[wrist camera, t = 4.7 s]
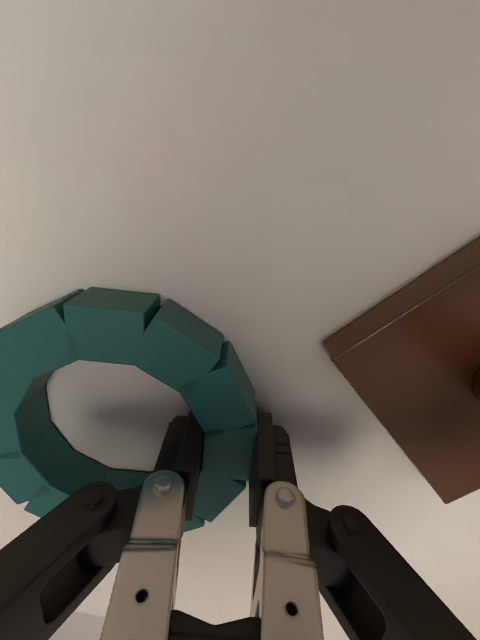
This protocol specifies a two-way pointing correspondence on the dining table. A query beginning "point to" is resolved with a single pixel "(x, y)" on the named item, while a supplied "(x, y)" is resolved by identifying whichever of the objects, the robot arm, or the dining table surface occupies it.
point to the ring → (130, 349)
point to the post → (424, 370)
